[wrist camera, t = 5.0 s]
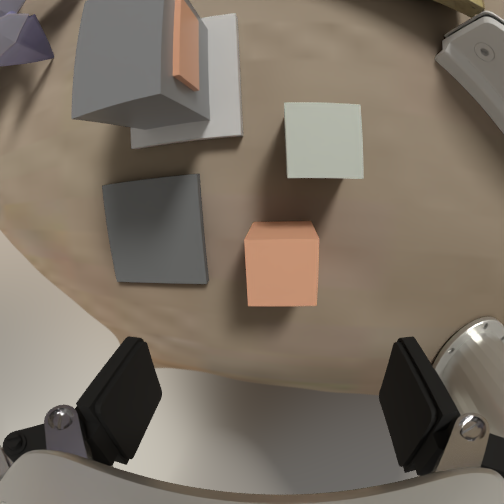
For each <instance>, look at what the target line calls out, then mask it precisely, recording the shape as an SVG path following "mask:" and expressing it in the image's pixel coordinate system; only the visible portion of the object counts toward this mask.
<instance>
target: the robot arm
mask: <svg viewBox="0 0 504 504" xmlns="http://www.w3.org/2000/svg"><path fill="white" fill-rule="evenodd" d="M161 397H162V390H161V387H160V384H159V381H158V378H157V375H156V372H155V369H154V365H153V362H152V359H151V355H150V352H149V349H148V345H147V343H146V342H144V341H143V339H142V338H137V337H127V338H126V339H125V340H124V341H123V343H122V344H121V345H120V346H119V348H118V349H117V350H116V351H115V353H114V354H113V355H112V357H111V358H110V359H109V360H108V362H107V363H106V364H105V366H104V367H103V368H102V370H101V371H100V372H99V373H98V375H97V376H96V377H95V379H94V380H93V381H92V383H91V384H90V385H89V387H88V388H87V389H86V391H85V392H84V393H83V395H82V396H81V398H80V399H79V400H78V402H77V403H76V404H77V407H76V408H75V409H74V408H73V407H71V406H69V405H59V406H56V407H54V408H52V409H51V410H50V411H49V412H48V413H47V414H46V416H45V420H44V424H41V425H37V426H34V427H30V428H26V429H23V430H18V431H14V432H12V433H10V434H9V435H7V437H6V438H5V440H4V442H3V447H1V446H0V504H504V326H503V325H502V324H501V323H500V322H499V321H498V320H497V319H495V318H493V317H482V318H479V319H476V320H474V321H472V322H470V323H469V324H467V325H466V326H464V327H463V328H461V329H460V330H459V331H458V332H457V333H456V334H455V335H453V336H452V338H451V339H450V340H449V341H448V342H447V343H446V344H445V346H444V347H443V348H442V350H441V351H440V353H439V354H438V356H437V358H436V359H435V362H434V364H433V366H432V365H431V363H430V361H429V360H428V358H427V357H426V355H425V353H424V352H423V350H422V349H421V347H420V345H419V344H418V342H417V341H416V339H415V338H414V337H404V338H399V339H398V341H397V342H395V343H394V344H393V348H392V351H391V355H390V359H389V363H388V366H387V370H386V373H385V376H384V380H383V383H382V386H381V389H380V393H379V400H380V403H381V406H382V410H383V413H384V416H385V419H386V422H387V425H388V429H389V432H390V436H391V439H392V442H393V446H394V449H395V453H396V457H397V460H398V463H399V465H400V466H401V467H402V466H403V468H404V471H405V473H406V472H410V471H413V470H416V472H417V475H418V477H415V478H411V479H407V480H403V481H398V482H394V483H389V484H384V485H379V486H373V487H367V488H361V489H355V490H347V491H339V492H330V493H317V494H299V495H298V494H296V495H265V494H245V493H232V492H223V491H215V490H207V489H201V488H195V487H189V486H183V485H178V484H173V483H168V482H164V481H160V480H155V479H151V478H148V477H144V476H140V475H137V474H134V473H130V472H127V471H123V470H120V469H117V468H114V467H113V463H114V461H116V462H119V463H122V464H127V463H128V461H129V459H132V458H133V457H134V455H135V453H136V451H137V449H138V447H139V444H140V442H141V440H142V438H143V436H144V434H145V431H146V429H147V427H148V425H149V423H150V420H151V419H152V416H153V414H154V412H155V410H156V408H157V406H158V404H159V402H160V400H161Z"/></svg>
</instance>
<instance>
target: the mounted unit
mask: <svg viewBox="0 0 504 504" xmlns="http://www.w3.org/2000/svg"><path fill="white" fill-rule="evenodd" d="M72 119H76V120H85V121H92V122H100V123H107V124H113V125H119V126H125V127H131V149H141V148H146V147H152V146H159V145H165V144H172V143H180V142H187V141H196V140H205V139H215V138H226V137H239V136H243V122H242V101H241V80H240V59H239V38H238V18H237V16H236V13H232V14H224V15H217V16H211V17H205V18H200V17H199V15H198V13H197V12H196V10H195V9H194V7H193V6H192V4H191V3H190V1H189V0H88V1H86V2H85V4H84V9H83V14H82V18H81V24H80V29H79V35H78V42H77V49H76V57H75V66H74V77H73V92H72Z"/></svg>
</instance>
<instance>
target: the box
mask: <svg viewBox="0 0 504 504" xmlns="http://www.w3.org/2000/svg"><path fill="white" fill-rule="evenodd" d="M433 1H436V2H438V3H441V4H443V5H445V6H447V7H450V8H452V9H454V10H456V11H459V12H461V13H463V14H465V15H467V16H469V17H471V18H472V17H474V15H475V14H479V13H481V11H482V12H483V11H484V9H485V6H484V0H433Z"/></svg>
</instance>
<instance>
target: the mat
mask: <svg viewBox="0 0 504 504" xmlns="http://www.w3.org/2000/svg"><path fill="white" fill-rule="evenodd" d="M102 189H103V199H104V207H105V215H106V223H107V229H108V236H109V242H110V248H111V253H112V259H113V264H114V269H115V274H116V279H117V282H144V283H181V284H207V283H208V281H209V277H208V268H207V258H206V248H205V237H204V226H203V214H202V201H201V188H200V174H190V175H180V176H170V177H161V178H152V179H144V180H137V181H129V182H122V183H115V184H109V185H103V186H102Z"/></svg>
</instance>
